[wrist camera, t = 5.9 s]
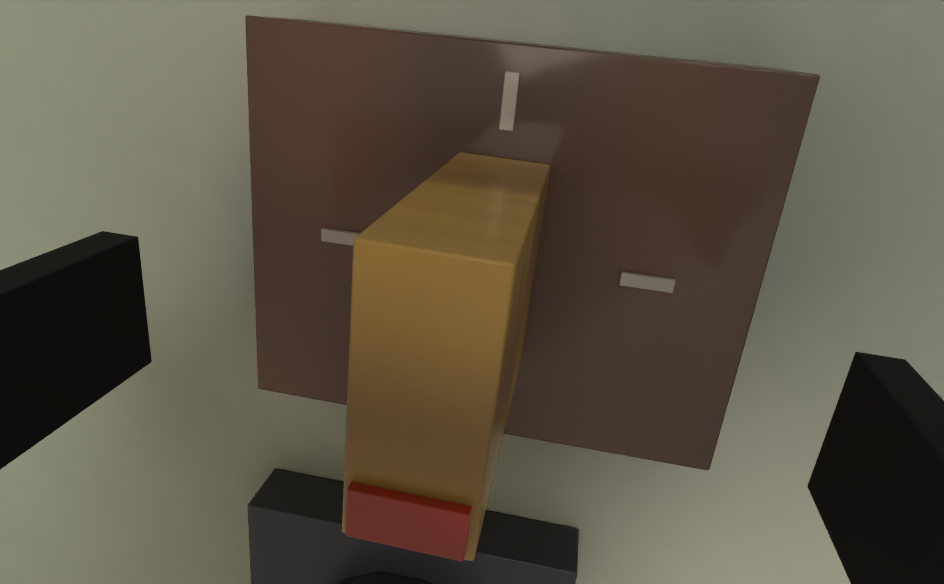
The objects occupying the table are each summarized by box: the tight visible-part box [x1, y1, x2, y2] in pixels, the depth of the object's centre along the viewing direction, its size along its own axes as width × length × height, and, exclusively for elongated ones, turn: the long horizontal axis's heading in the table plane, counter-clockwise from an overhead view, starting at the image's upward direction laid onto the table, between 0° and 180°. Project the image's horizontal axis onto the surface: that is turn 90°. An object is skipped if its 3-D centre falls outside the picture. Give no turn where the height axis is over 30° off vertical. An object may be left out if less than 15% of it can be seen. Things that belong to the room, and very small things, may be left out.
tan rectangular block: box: [342, 152, 551, 561], centre depth 14 cm, size 6×2×8 cm, turn 174°
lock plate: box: [245, 15, 820, 470], centre depth 19 cm, size 14×11×3 cm
